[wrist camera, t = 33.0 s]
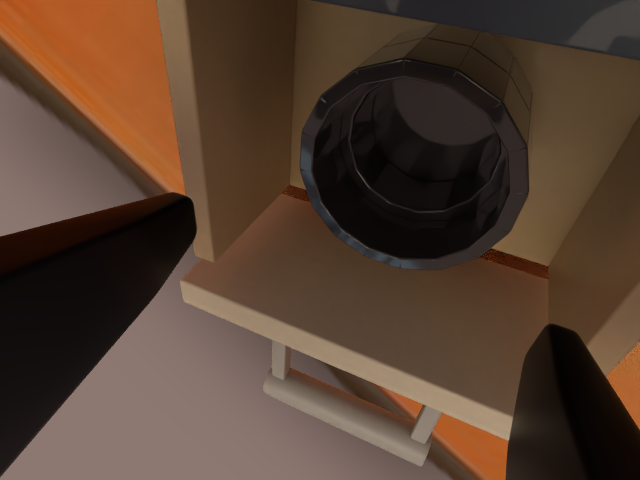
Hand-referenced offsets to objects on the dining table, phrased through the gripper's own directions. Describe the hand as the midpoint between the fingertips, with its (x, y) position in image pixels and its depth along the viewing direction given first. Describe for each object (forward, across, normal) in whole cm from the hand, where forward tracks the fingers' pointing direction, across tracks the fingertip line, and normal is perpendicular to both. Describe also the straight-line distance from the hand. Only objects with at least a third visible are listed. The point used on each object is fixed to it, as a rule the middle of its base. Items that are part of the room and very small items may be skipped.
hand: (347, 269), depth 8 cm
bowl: (+8, 0, 0) cm, 8 cm away
